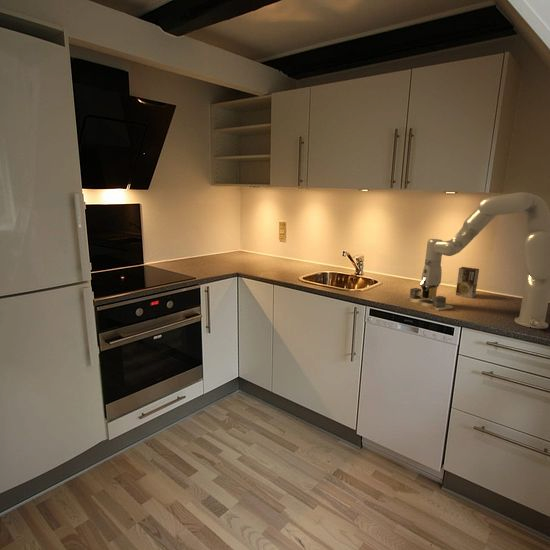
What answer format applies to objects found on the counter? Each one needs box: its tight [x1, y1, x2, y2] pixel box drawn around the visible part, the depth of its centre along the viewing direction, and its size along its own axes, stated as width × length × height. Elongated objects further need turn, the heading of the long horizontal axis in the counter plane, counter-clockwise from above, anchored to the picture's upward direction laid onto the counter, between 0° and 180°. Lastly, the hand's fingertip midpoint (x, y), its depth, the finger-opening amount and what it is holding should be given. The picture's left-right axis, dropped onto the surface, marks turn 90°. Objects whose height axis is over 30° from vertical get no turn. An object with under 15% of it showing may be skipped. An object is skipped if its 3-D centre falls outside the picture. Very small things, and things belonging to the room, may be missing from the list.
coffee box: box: [455, 266, 480, 299], centre depth 210 cm, size 9×6×16 cm
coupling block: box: [421, 286, 438, 300], centre depth 192 cm, size 5×5×7 cm
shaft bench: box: [404, 287, 453, 312], centre depth 193 cm, size 21×11×6 cm, turn 28°
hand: (428, 296), depth 192 cm, fingers closed on coupling block, 5 cm apart
